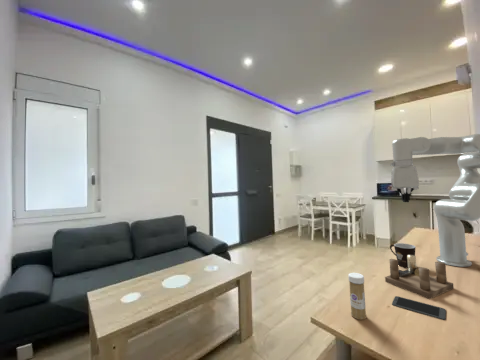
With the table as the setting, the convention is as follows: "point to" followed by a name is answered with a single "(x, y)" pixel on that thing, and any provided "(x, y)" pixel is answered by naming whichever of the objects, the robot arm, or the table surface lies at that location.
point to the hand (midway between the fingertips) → (405, 201)
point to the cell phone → (420, 307)
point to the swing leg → (409, 266)
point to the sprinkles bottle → (357, 295)
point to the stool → (420, 280)
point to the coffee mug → (403, 253)
